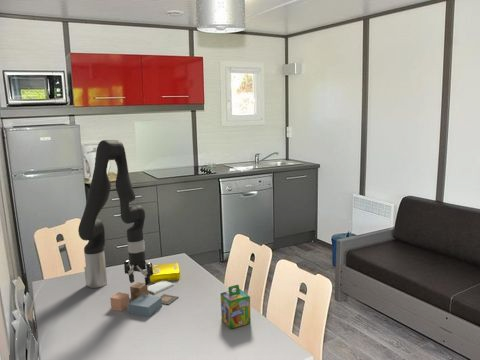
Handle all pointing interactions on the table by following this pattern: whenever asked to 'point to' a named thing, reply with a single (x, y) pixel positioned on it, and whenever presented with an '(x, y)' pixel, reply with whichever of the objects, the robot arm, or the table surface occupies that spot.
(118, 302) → the terracotta cube
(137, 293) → the walnut cube
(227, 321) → the chalk box
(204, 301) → the table surface
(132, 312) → the slate base block
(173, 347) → the table surface
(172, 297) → the tile
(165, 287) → the hard drive
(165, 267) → the element tile
